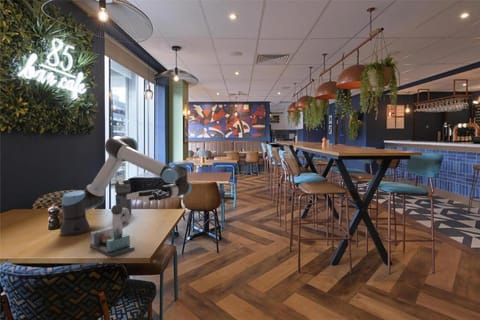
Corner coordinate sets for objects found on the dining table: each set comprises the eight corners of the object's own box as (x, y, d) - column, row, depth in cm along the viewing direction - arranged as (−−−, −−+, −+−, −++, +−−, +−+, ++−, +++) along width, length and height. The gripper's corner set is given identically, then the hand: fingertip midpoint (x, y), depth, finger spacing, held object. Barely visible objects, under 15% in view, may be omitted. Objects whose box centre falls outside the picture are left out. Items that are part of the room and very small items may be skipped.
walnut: (100, 243, 136) (99, 235, 136) (108, 240, 140) (108, 232, 139) (104, 245, 133) (104, 236, 133) (113, 242, 137) (112, 234, 137)
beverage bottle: (136, 212, 200) (135, 179, 198) (123, 217, 188) (121, 182, 186) (126, 211, 204) (124, 178, 202) (112, 215, 191) (110, 181, 189)
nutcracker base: (90, 246, 136) (89, 232, 135) (111, 240, 145) (110, 226, 144) (112, 257, 123) (111, 241, 122) (134, 249, 132) (133, 234, 131)
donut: (119, 225, 170) (119, 210, 169) (115, 224, 171) (114, 209, 170) (131, 220, 179) (130, 206, 178) (127, 220, 180) (126, 205, 179)
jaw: (105, 250, 127) (103, 206, 125) (125, 243, 135) (123, 202, 134) (111, 252, 124) (109, 207, 123) (131, 245, 132) (129, 203, 131)
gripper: (183, 200, 146) (149, 209, 129) (155, 195, 161) (121, 202, 144) (182, 186, 145) (149, 193, 128) (154, 183, 160) (120, 188, 143)
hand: (134, 198), depth 136 cm, fingers open, 13 cm apart
